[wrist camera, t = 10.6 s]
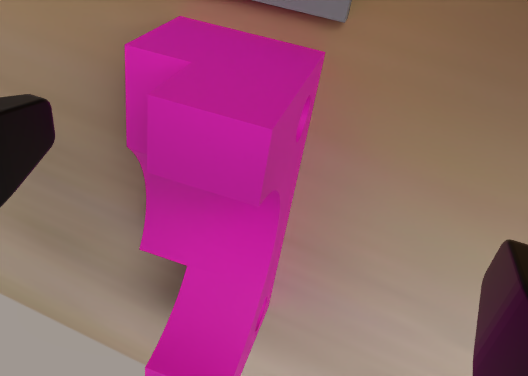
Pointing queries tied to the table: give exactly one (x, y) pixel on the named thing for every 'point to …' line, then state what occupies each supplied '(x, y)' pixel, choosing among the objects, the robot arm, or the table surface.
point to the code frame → (316, 7)
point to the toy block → (217, 177)
